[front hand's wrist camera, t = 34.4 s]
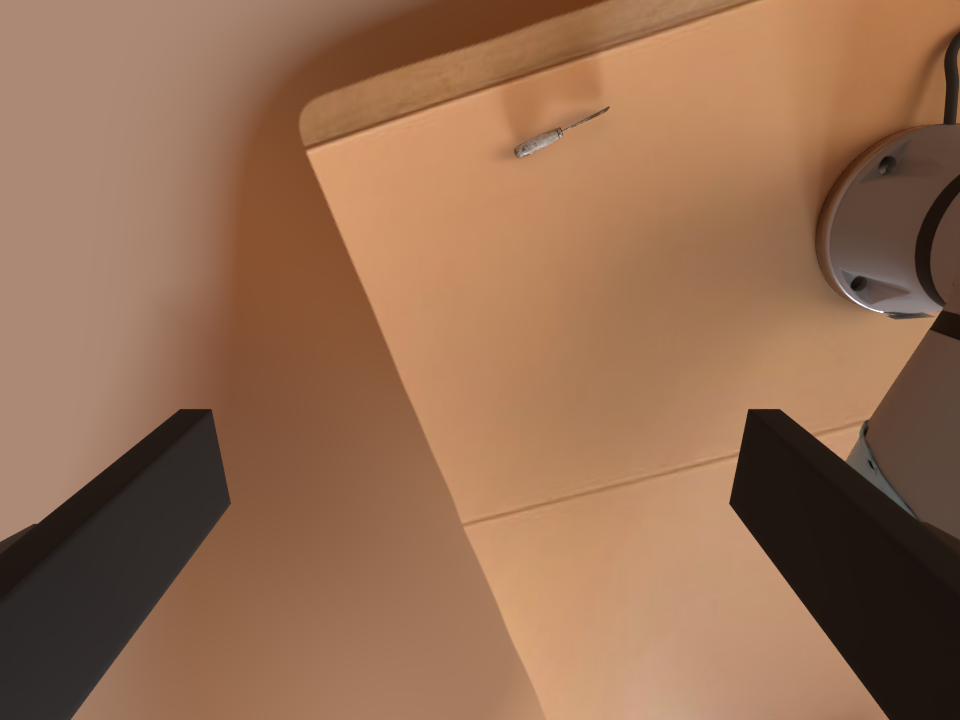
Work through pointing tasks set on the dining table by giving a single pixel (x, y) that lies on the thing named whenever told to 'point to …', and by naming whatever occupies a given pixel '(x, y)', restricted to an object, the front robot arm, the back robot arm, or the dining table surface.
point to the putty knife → (546, 138)
